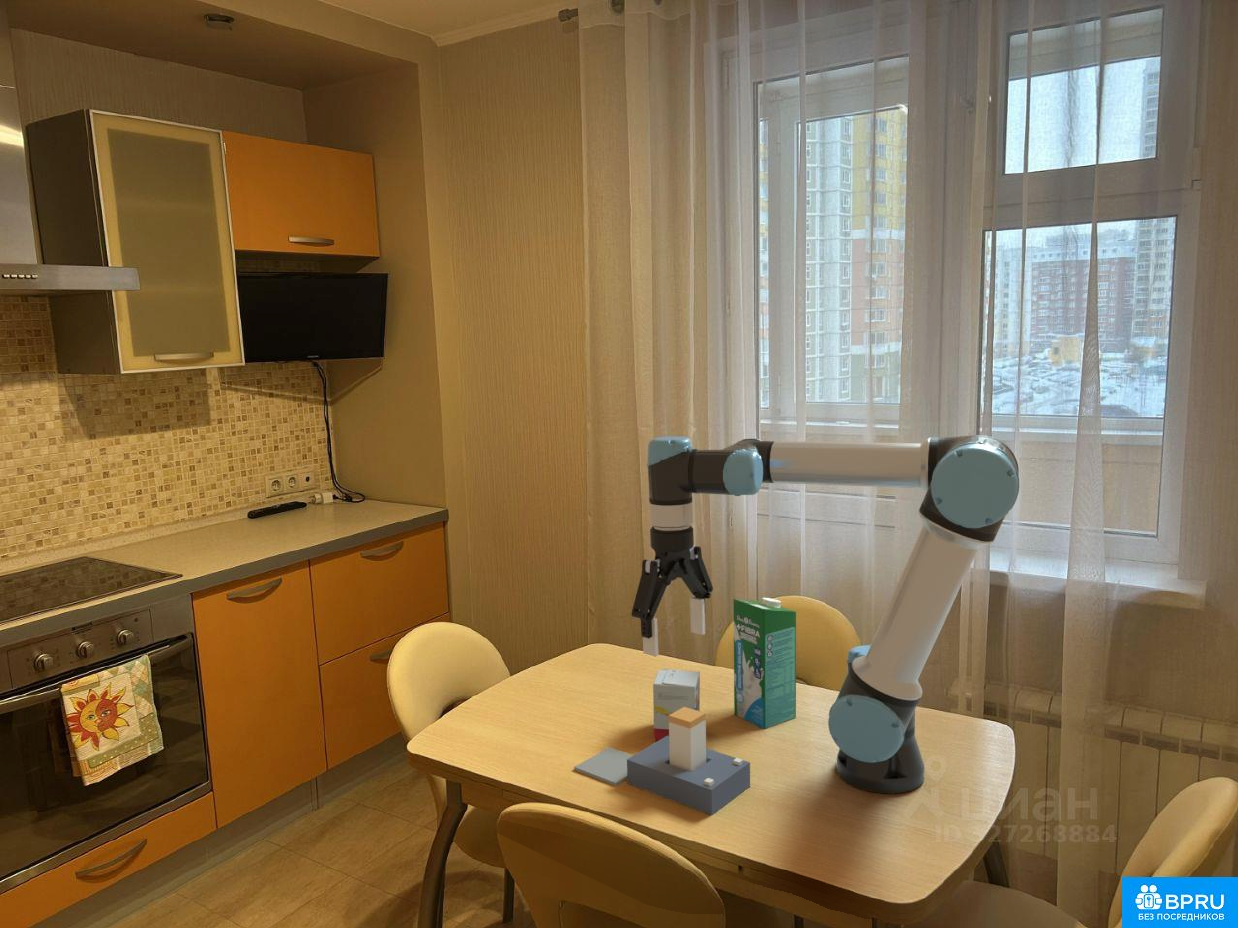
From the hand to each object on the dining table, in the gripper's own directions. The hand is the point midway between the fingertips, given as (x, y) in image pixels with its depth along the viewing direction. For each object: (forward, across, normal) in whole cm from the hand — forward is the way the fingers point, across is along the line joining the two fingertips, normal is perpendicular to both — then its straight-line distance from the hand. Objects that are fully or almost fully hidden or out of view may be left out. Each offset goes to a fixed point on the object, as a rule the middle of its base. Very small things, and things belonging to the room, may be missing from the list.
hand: (675, 643), depth 162 cm
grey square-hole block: (+25, +2, +3) cm, 25 cm away
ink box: (+25, -14, -11) cm, 30 cm away
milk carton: (+25, -31, -2) cm, 40 cm away
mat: (+24, +5, -12) cm, 28 cm away
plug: (+25, +2, +3) cm, 25 cm away
